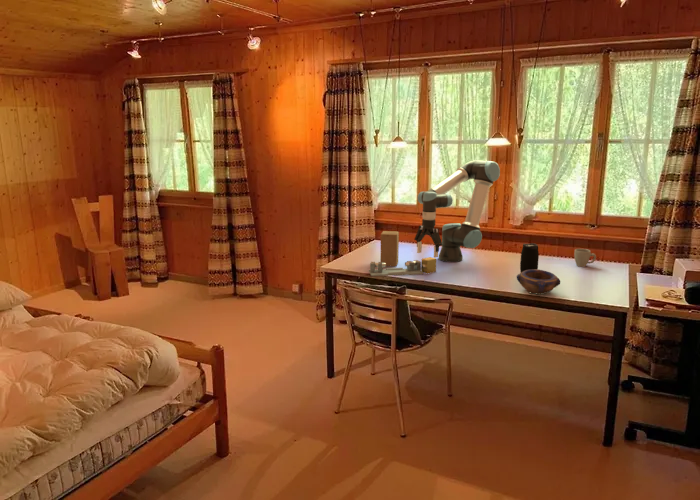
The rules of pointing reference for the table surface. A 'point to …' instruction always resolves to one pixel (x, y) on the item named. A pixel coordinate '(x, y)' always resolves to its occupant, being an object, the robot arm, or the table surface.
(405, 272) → the rig
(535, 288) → the bowl
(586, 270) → the table surface
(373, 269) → the grey bracket
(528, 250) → the portable speaker
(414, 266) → the grey metal block
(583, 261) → the mug
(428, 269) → the coupling
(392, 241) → the wooden block
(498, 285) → the table surface
